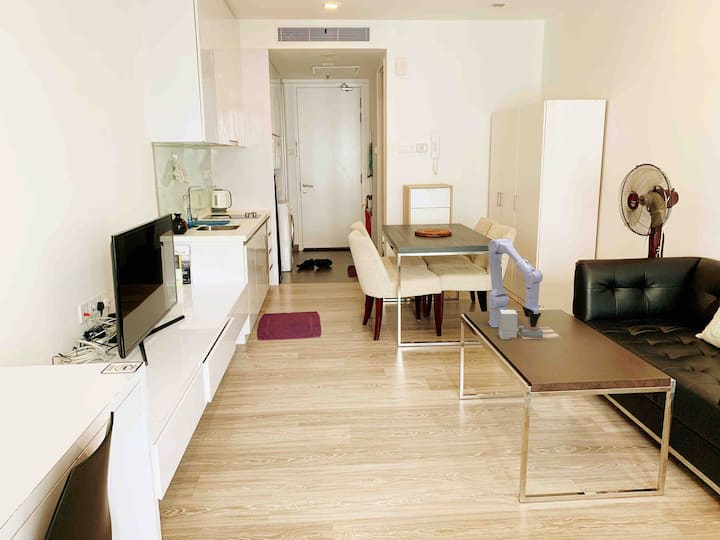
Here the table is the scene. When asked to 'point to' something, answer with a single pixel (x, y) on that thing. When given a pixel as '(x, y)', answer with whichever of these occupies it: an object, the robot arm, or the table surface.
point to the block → (527, 324)
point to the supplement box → (508, 324)
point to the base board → (546, 334)
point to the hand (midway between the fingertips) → (530, 324)
